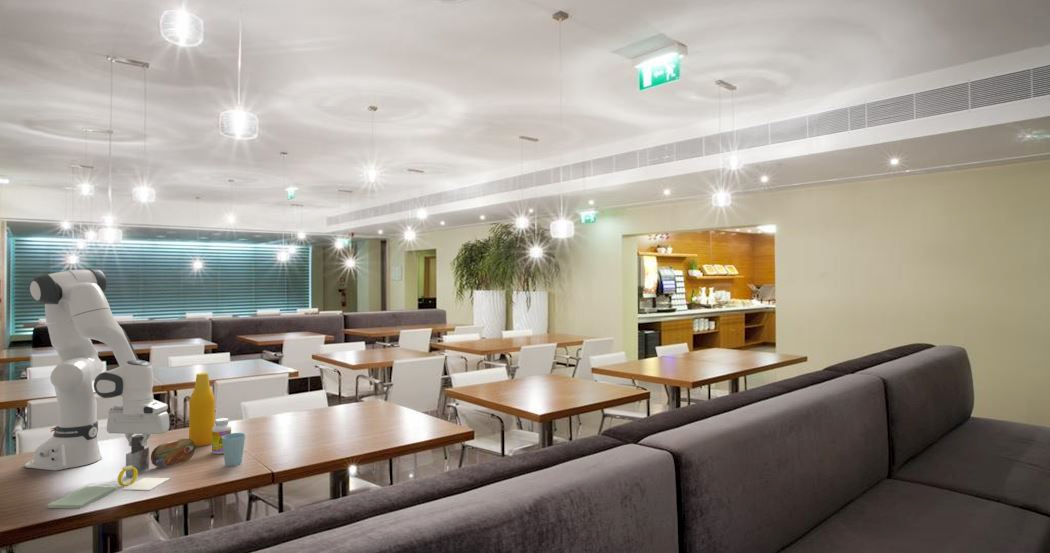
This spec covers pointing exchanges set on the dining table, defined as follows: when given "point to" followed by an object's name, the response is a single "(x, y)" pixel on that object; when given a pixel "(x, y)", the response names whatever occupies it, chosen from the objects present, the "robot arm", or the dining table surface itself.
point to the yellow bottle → (201, 412)
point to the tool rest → (82, 497)
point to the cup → (233, 448)
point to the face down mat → (146, 484)
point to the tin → (172, 453)
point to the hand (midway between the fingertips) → (137, 445)
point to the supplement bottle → (219, 434)
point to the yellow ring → (123, 473)
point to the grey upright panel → (137, 456)
